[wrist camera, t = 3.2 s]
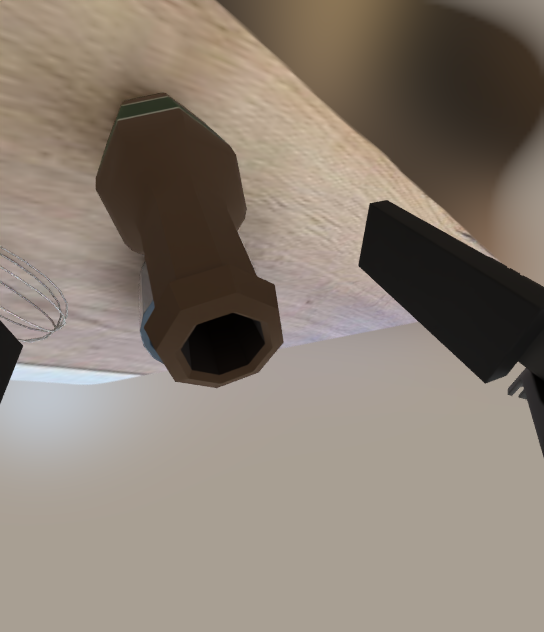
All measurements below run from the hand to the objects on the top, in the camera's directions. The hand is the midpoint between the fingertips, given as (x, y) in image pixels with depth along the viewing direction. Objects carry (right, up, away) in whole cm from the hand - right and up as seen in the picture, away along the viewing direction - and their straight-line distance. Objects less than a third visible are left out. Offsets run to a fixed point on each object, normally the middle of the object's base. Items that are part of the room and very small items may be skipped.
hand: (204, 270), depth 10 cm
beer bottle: (-7, +13, +14) cm, 20 cm away
